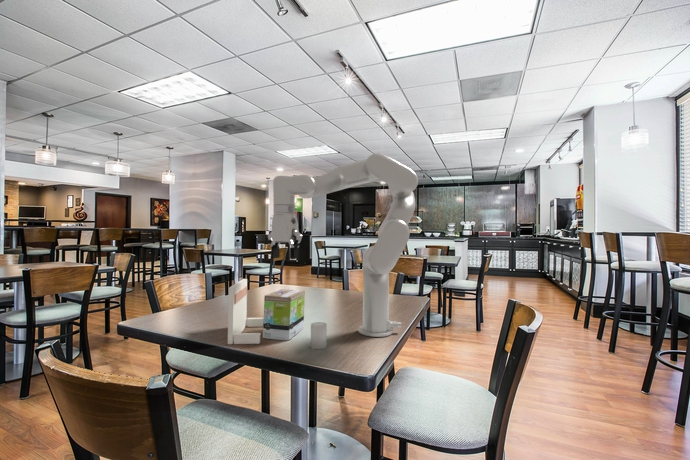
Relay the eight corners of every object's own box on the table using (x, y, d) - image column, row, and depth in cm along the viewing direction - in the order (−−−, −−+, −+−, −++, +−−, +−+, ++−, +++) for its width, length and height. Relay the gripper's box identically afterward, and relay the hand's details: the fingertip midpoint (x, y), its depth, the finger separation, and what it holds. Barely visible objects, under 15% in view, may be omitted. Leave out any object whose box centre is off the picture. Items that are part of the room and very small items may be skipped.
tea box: (290, 341, 108) (290, 296, 108) (261, 339, 110) (262, 295, 110) (304, 328, 122) (305, 289, 123) (279, 326, 124) (280, 288, 125)
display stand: (268, 325, 126) (269, 278, 126) (259, 343, 105) (260, 287, 105) (242, 325, 125) (243, 278, 125) (227, 344, 104) (228, 287, 104)
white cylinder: (326, 343, 106) (326, 322, 106) (326, 348, 101) (326, 326, 101) (310, 343, 105) (311, 322, 106) (310, 349, 100) (310, 326, 101)
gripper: (308, 209, 114) (309, 258, 114) (276, 212, 125) (276, 256, 125) (292, 208, 108) (293, 260, 108) (260, 211, 119) (260, 258, 119)
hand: (284, 258), depth 116 cm, fingers open, 9 cm apart
